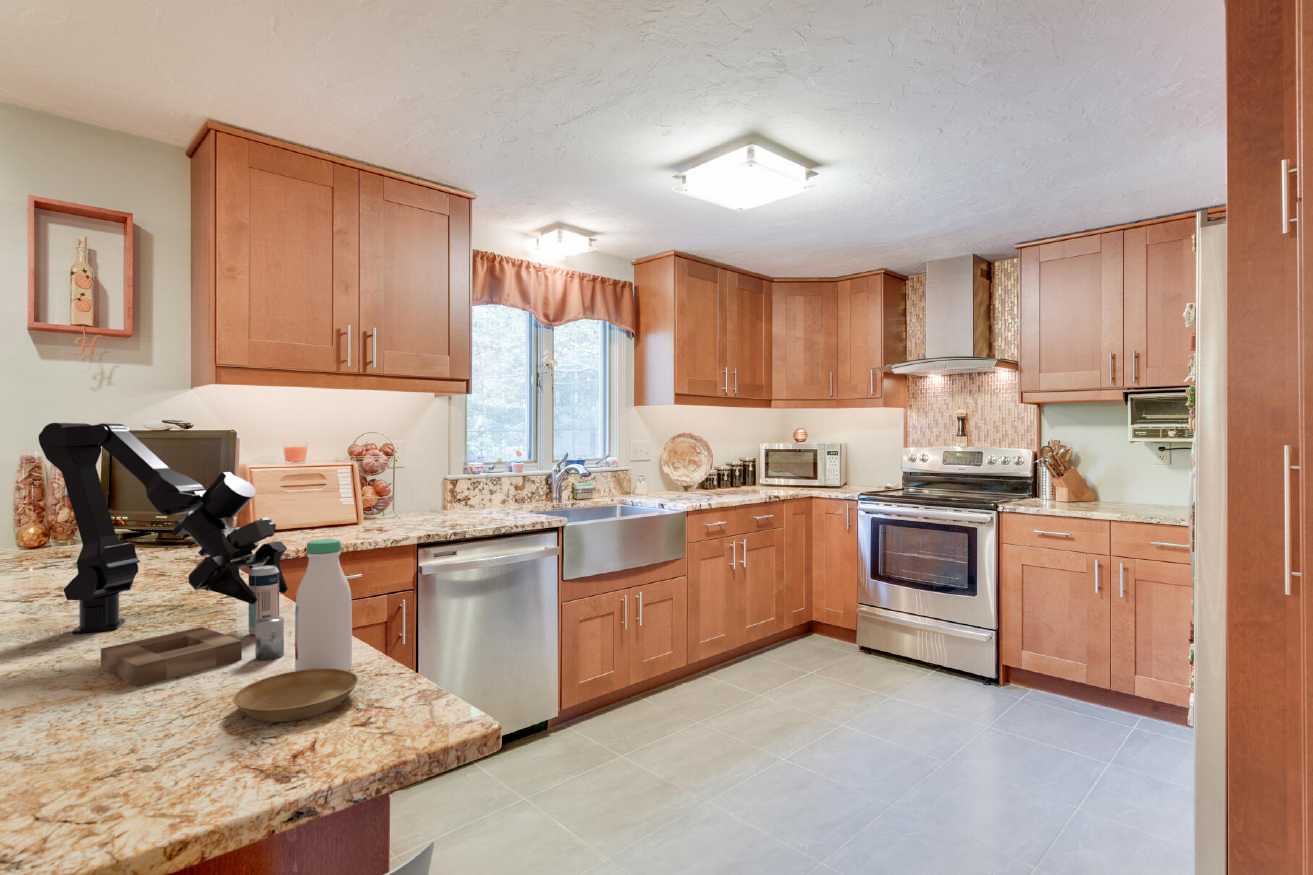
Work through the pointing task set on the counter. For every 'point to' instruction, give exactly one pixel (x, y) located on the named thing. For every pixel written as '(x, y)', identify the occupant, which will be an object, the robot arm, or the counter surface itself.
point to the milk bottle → (323, 611)
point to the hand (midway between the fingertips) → (271, 596)
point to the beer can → (263, 594)
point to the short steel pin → (269, 638)
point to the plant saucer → (295, 694)
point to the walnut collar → (170, 655)
